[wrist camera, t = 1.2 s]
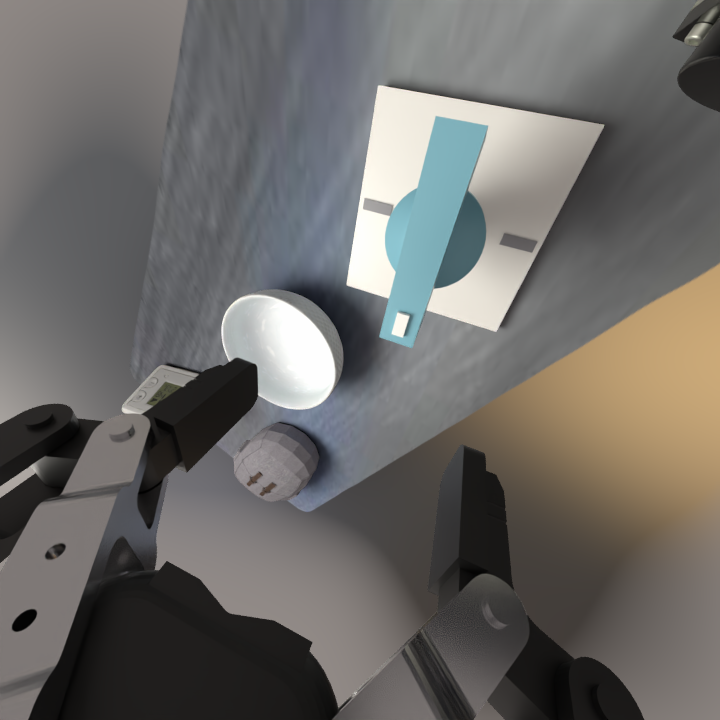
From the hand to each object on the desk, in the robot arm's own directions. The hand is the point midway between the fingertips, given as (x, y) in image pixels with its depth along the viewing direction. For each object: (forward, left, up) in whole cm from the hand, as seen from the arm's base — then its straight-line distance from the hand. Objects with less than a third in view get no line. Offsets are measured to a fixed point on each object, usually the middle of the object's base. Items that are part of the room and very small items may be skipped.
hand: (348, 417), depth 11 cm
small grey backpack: (+44, -17, -26) cm, 54 cm away
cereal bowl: (+15, -15, -26) cm, 34 cm away
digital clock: (+34, -37, -26) cm, 56 cm away
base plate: (-4, 0, -26) cm, 26 cm away
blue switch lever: (-4, 0, -18) cm, 18 cm away
